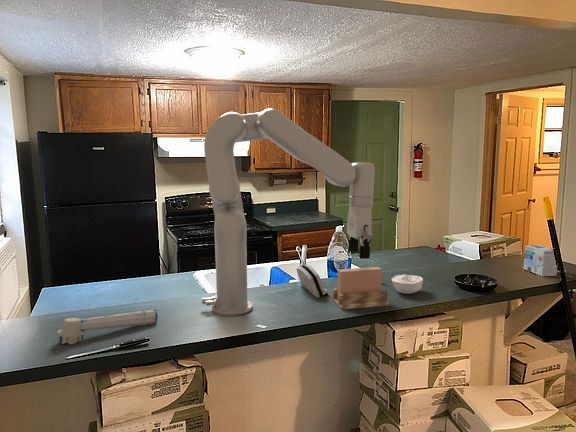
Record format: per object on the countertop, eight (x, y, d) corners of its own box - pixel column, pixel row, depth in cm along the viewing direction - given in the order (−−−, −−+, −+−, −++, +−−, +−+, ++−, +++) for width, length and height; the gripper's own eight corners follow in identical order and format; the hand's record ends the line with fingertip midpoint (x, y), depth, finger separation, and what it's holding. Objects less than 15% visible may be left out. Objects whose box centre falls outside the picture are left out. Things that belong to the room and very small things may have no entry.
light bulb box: (522, 270, 178) (524, 245, 177) (537, 269, 180) (539, 244, 178) (542, 277, 168) (544, 250, 167) (557, 276, 169) (559, 249, 168)
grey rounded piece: (330, 296, 148) (321, 270, 145) (318, 301, 146) (308, 275, 144) (313, 282, 163) (305, 258, 161) (302, 287, 162) (293, 264, 160)
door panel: (340, 302, 138) (340, 271, 137) (337, 299, 141) (337, 269, 140) (381, 298, 141) (381, 269, 140) (377, 296, 144) (377, 266, 143)
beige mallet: (159, 312, 123) (60, 319, 108) (157, 335, 123) (58, 346, 109) (152, 306, 127) (57, 313, 112) (150, 329, 127) (55, 338, 113)
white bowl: (429, 292, 151) (430, 273, 150) (408, 299, 143) (409, 279, 143) (405, 285, 159) (406, 267, 158) (384, 292, 151) (385, 273, 150)
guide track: (341, 309, 135) (341, 296, 134) (331, 299, 144) (331, 287, 144) (389, 305, 138) (389, 293, 137) (376, 295, 148) (376, 284, 147)
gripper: (340, 199, 144) (338, 249, 146) (359, 204, 127) (357, 261, 130) (361, 199, 146) (359, 249, 148) (383, 204, 129) (380, 260, 131)
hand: (358, 254), depth 139 cm, fingers open, 9 cm apart
